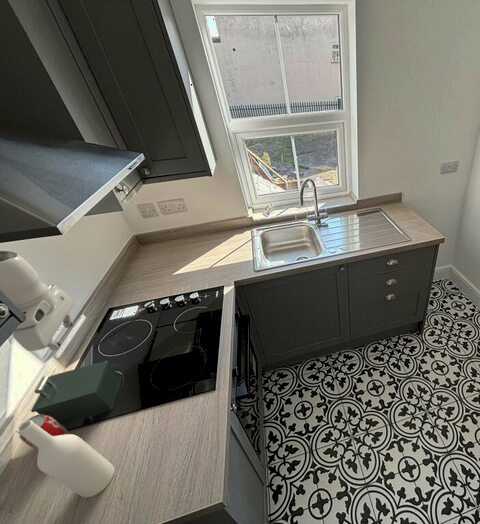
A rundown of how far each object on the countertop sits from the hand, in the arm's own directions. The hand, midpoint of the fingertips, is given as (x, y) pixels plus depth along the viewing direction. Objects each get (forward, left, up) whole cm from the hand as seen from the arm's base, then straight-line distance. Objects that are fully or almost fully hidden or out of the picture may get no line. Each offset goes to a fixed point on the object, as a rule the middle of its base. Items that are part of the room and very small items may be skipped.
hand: (63, 336), depth 89 cm
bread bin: (-4, -5, -27) cm, 27 cm away
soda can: (-9, -17, -27) cm, 33 cm away
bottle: (+6, -33, -27) cm, 43 cm away
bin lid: (-4, -5, -17) cm, 18 cm away
